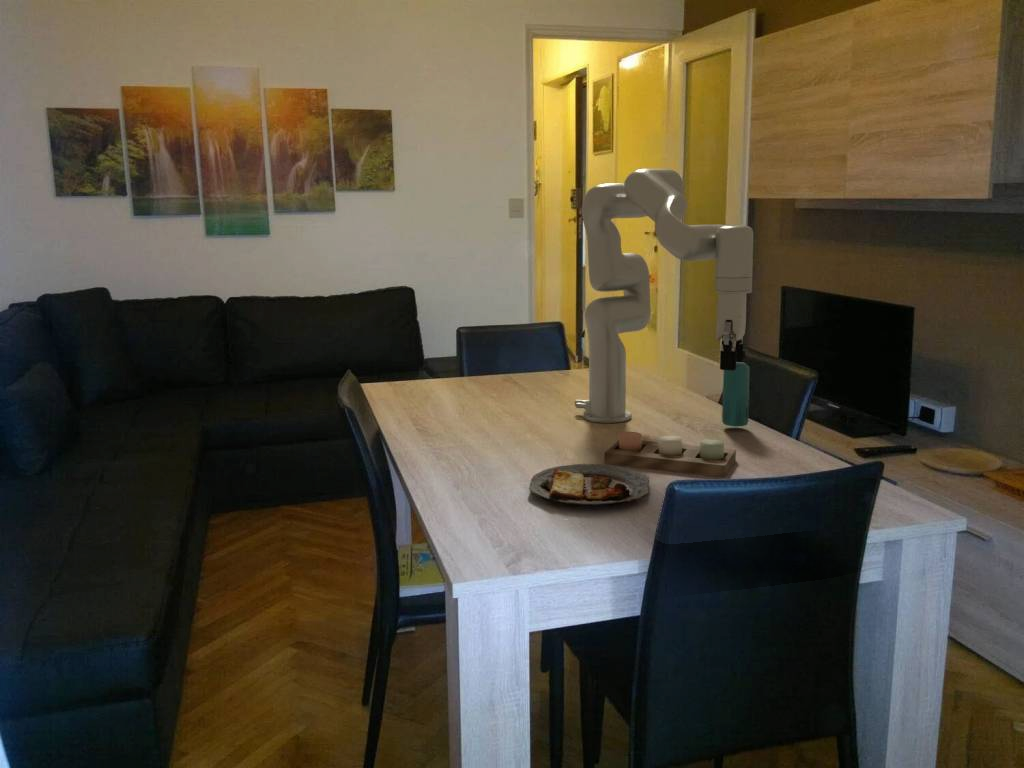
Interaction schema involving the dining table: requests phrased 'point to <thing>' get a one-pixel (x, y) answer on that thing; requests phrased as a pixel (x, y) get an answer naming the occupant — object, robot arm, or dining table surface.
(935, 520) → the dining table surface
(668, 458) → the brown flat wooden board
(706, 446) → the sage button
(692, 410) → the dining table surface
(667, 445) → the cream button
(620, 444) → the terracotta button
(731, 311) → the robot arm
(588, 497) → the food plate
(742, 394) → the beverage bottle
